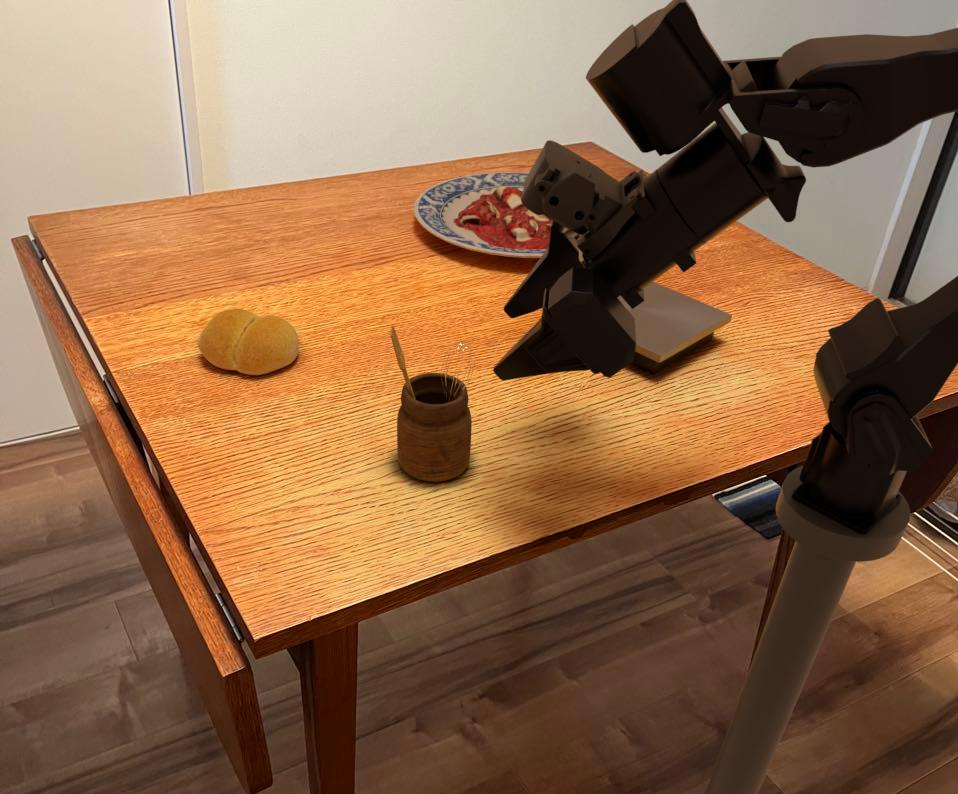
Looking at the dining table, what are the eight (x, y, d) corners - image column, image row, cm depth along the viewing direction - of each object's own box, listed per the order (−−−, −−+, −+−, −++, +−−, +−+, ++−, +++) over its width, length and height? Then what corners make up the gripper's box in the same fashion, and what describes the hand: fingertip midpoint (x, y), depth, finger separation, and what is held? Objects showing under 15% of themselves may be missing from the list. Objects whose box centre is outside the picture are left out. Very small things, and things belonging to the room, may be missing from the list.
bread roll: (278, 384, 83) (273, 345, 80) (189, 367, 85) (181, 328, 82) (315, 342, 89) (312, 304, 86) (231, 326, 91) (226, 288, 88)
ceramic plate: (369, 224, 111) (368, 200, 109) (508, 174, 126) (510, 152, 124) (533, 295, 98) (535, 269, 96) (666, 230, 113) (670, 206, 111)
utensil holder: (470, 485, 73) (477, 352, 65) (391, 483, 73) (388, 349, 65) (470, 442, 77) (476, 312, 70) (395, 440, 77) (392, 309, 69)
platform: (725, 342, 93) (732, 314, 91) (655, 383, 86) (660, 355, 84) (616, 293, 100) (620, 267, 98) (543, 329, 93) (546, 301, 91)
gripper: (605, 66, 63) (443, 211, 71) (607, 157, 49) (404, 325, 57) (697, 190, 68) (535, 313, 76) (722, 305, 54) (521, 442, 62)
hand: (502, 342), depth 67 cm, fingers open, 9 cm apart
